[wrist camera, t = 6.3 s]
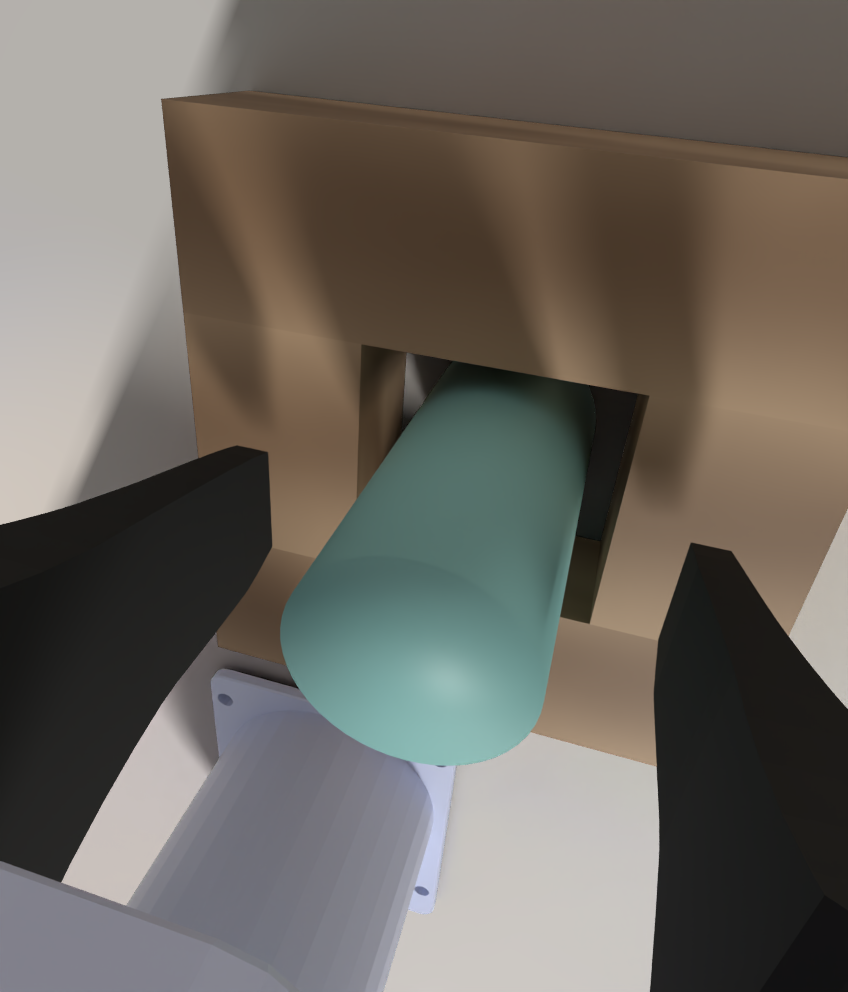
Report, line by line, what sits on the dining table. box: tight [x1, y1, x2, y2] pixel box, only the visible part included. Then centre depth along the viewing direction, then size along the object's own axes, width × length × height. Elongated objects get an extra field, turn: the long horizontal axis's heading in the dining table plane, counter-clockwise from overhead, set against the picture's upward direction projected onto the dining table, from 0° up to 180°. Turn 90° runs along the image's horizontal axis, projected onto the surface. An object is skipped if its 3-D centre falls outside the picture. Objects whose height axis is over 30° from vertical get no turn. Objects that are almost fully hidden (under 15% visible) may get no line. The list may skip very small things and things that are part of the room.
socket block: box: [161, 91, 848, 767], centre depth 15 cm, size 12×12×3 cm
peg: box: [280, 361, 596, 766], centre depth 13 cm, size 4×4×8 cm
